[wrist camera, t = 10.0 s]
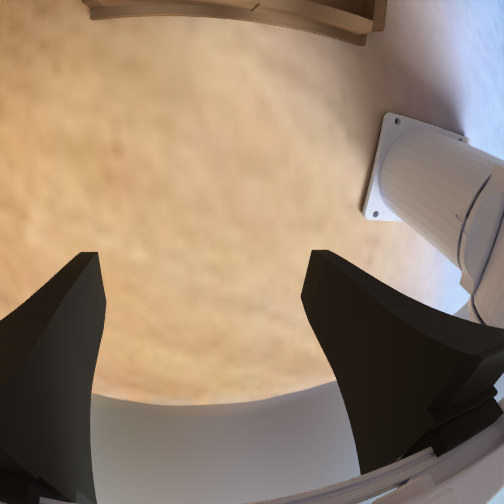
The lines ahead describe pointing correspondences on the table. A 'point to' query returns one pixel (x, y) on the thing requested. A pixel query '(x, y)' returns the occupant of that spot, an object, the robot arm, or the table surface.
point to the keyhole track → (263, 13)
